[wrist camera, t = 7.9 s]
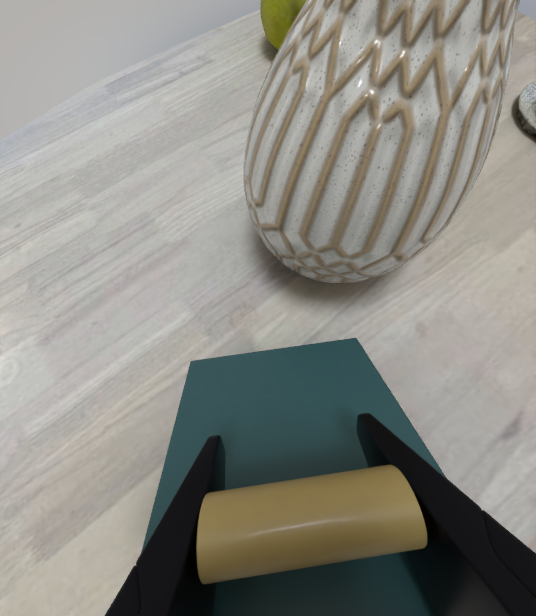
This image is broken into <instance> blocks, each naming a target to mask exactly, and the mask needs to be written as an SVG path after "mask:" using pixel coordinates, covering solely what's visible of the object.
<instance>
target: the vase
mask: <svg viewBox="0 0 536 616" xmlns="http://www.w3.org/2000/svg"><path fill="white" fill-rule="evenodd" d="M519 2H520V0H306V2H305V3H304V5H303V7H302V8H301V10H300V11H299V13H298V15H297V17H296V18H295V20H294V22H293V24H292V25H291V27H290V29H289V31H288V32H287V34H286V36H285V38H284V40H283V42H282V44H281V46H280V48H279V50H278V52H277V54H276V56H275V58H274V60H273V62H272V64H271V67H270V69H269V71H268V73H267V75H266V77H265V80H264V82H263V85H262V87H261V90H260V92H259V95H258V98H257V101H256V104H255V108H254V111H253V115H252V119H251V123H250V128H249V132H248V138H247V143H246V150H245V159H244V190H245V196H246V202H247V206H248V209H249V212H250V216H251V218H252V221H253V224H254V226H255V228H256V230H257V233H258V235H259V236H260V238H261V240H262V241H263V243H264V244H265V245H266V247H267V248H268V249H269V250H270V252H271V253H272V254H273V255H274V256H275V257H276V258H277V259H278V260H279V261H280V262H282V263H283V264H284V265H286V266H287V267H288V268H290V269H291V270H293V271H295V272H297V273H298V274H300V275H303V276H305V277H308V278H310V279H314V280H318V281H322V282H329V283H351V282H358V281H363V280H367V279H372V278H375V277H378V276H381V275H383V274H386V273H388V272H390V271H392V270H394V269H396V268H398V267H400V266H401V265H403V264H405V263H406V262H408V261H409V260H411V259H412V258H414V257H415V256H417V255H418V254H419V253H421V252H422V251H423V250H424V249H426V248H427V247H428V246H429V245H430V244H432V243H433V242H434V241H435V240H436V238H437V237H438V236H439V235H440V234H441V233H442V232H443V231H444V230H445V228H446V227H447V226H448V224H449V223H450V222H451V220H452V219H453V218H454V216H455V215H456V213H457V212H458V210H459V209H460V207H461V206H462V204H463V202H464V201H465V199H466V197H467V196H468V194H469V192H470V190H471V189H472V187H473V185H474V183H475V181H476V179H477V177H478V175H479V174H480V171H481V169H482V167H483V165H484V162H485V160H486V158H487V155H488V153H489V151H490V148H491V144H492V141H493V138H494V135H495V132H496V128H497V125H498V121H499V117H500V113H501V109H502V104H503V100H504V95H505V91H506V86H507V81H508V75H509V68H510V61H511V54H512V47H513V38H514V29H515V20H516V16H517V11H518V6H519Z"/></svg>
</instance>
